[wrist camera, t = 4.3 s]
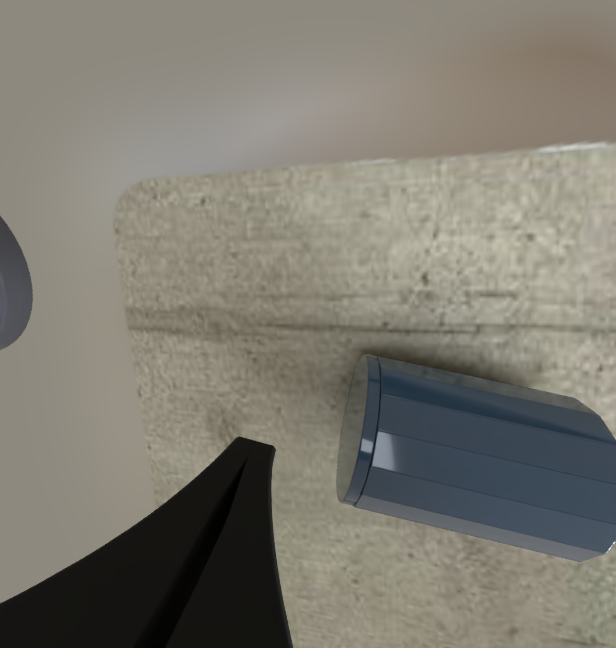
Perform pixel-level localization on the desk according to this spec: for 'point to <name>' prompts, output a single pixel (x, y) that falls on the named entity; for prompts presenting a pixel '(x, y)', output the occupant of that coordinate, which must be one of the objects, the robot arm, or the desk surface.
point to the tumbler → (478, 458)
